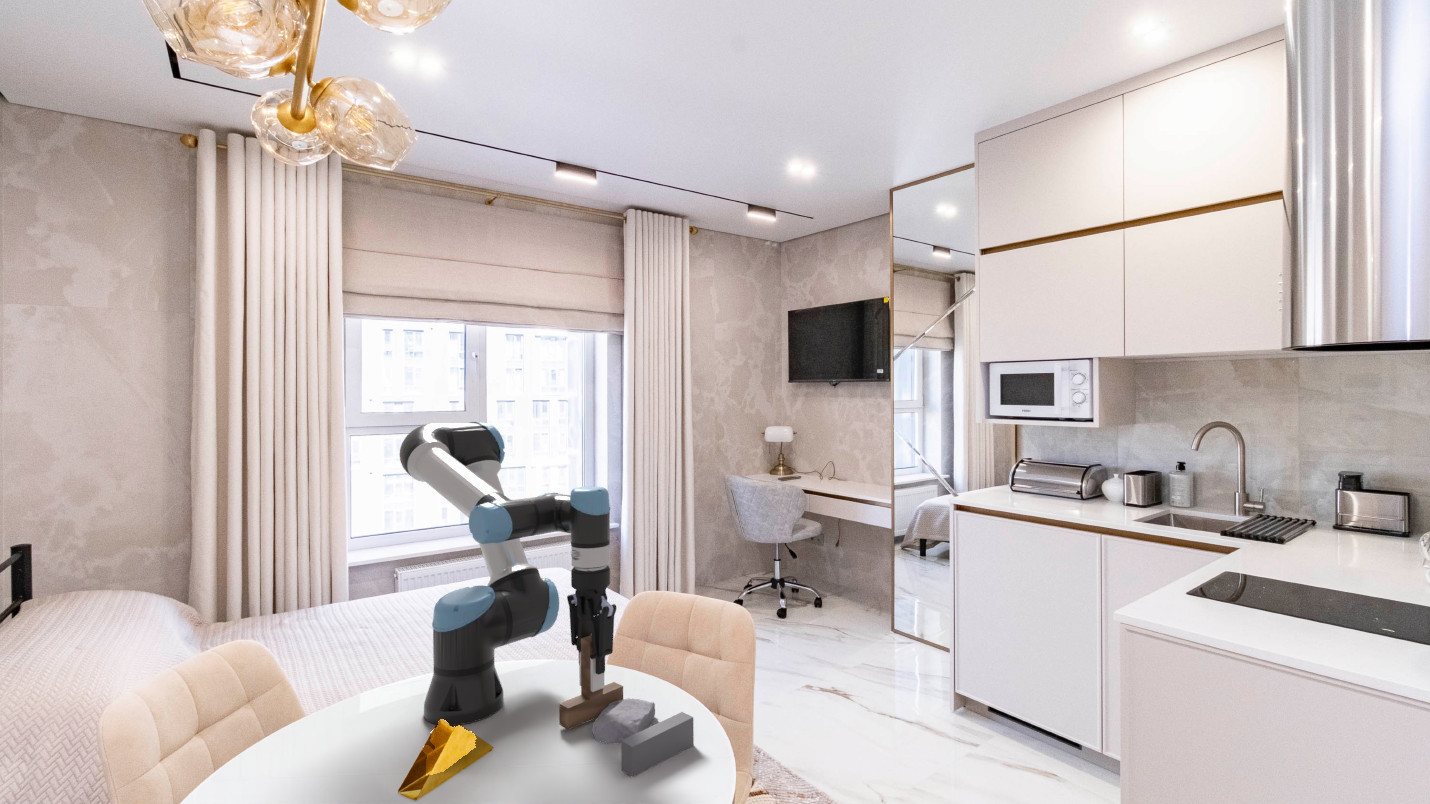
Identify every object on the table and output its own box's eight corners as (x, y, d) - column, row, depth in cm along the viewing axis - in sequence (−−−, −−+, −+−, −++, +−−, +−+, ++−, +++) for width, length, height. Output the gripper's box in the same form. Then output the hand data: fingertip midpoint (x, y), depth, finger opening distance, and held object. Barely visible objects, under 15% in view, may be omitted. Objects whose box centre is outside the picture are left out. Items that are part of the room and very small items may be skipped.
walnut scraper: (559, 724, 122) (558, 645, 122) (614, 701, 132) (613, 628, 132) (568, 729, 120) (567, 649, 120) (623, 705, 130) (622, 631, 130)
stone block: (590, 752, 117) (641, 746, 116) (585, 725, 118) (636, 719, 116) (612, 723, 129) (659, 717, 127) (608, 699, 129) (655, 692, 128)
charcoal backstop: (621, 770, 108) (621, 740, 108) (682, 739, 118) (682, 711, 118) (632, 777, 106) (632, 746, 106) (693, 744, 116) (693, 717, 116)
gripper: (551, 563, 129) (552, 680, 129) (599, 577, 118) (600, 705, 118) (583, 557, 135) (584, 669, 134) (631, 569, 123) (632, 692, 123)
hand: (591, 686), depth 126 cm, fingers closed on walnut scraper, 3 cm apart
